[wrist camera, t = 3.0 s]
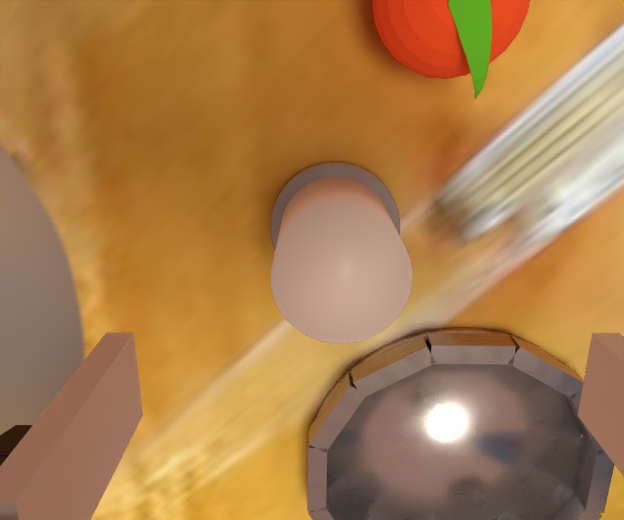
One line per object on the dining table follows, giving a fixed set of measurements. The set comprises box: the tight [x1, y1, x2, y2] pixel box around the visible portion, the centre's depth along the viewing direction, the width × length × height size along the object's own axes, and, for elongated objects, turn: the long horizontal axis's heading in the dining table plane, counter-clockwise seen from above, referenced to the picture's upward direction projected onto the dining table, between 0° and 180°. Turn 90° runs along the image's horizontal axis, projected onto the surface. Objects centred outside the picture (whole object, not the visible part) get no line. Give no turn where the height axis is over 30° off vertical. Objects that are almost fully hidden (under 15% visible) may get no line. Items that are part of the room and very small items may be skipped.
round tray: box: [307, 327, 614, 520], centre depth 36 cm, size 19×19×2 cm
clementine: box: [372, 0, 530, 98], centre depth 25 cm, size 8×7×7 cm
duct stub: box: [270, 161, 412, 344], centre depth 28 cm, size 7×7×9 cm
